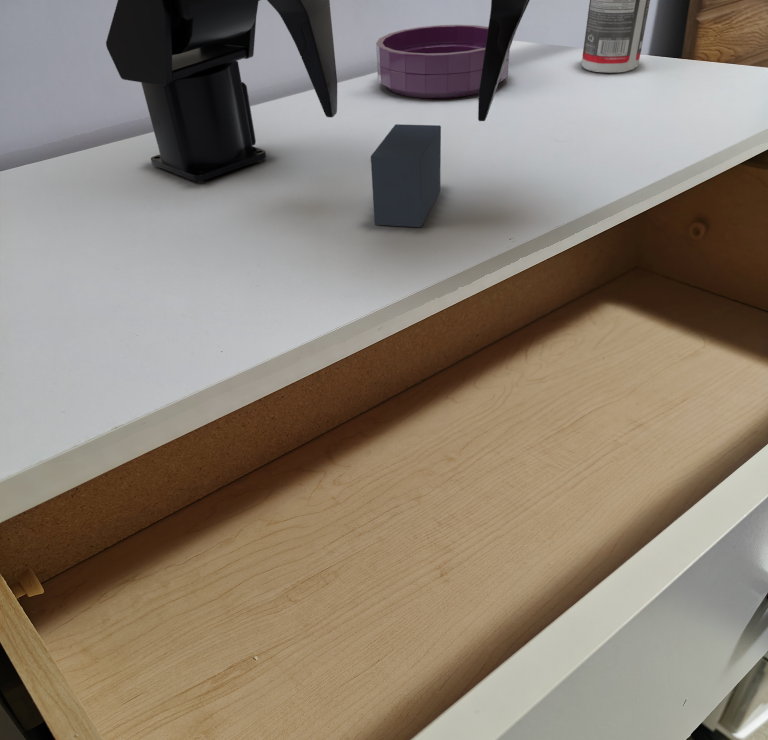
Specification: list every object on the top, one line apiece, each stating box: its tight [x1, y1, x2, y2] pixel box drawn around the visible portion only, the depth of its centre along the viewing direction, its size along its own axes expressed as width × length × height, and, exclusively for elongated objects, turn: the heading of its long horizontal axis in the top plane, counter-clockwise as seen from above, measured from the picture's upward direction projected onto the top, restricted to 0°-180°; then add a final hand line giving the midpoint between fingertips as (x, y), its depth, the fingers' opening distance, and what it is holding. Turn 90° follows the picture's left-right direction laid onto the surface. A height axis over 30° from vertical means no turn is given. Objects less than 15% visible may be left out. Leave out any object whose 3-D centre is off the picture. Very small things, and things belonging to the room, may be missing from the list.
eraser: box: [370, 123, 442, 228], centre depth 42 cm, size 6×3×4 cm, turn 166°
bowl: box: [375, 24, 511, 99], centre depth 63 cm, size 12×12×4 cm
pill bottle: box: [581, 0, 651, 74], centre depth 62 cm, size 5×5×10 cm
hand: (405, 117), depth 40 cm, fingers open, 9 cm apart
